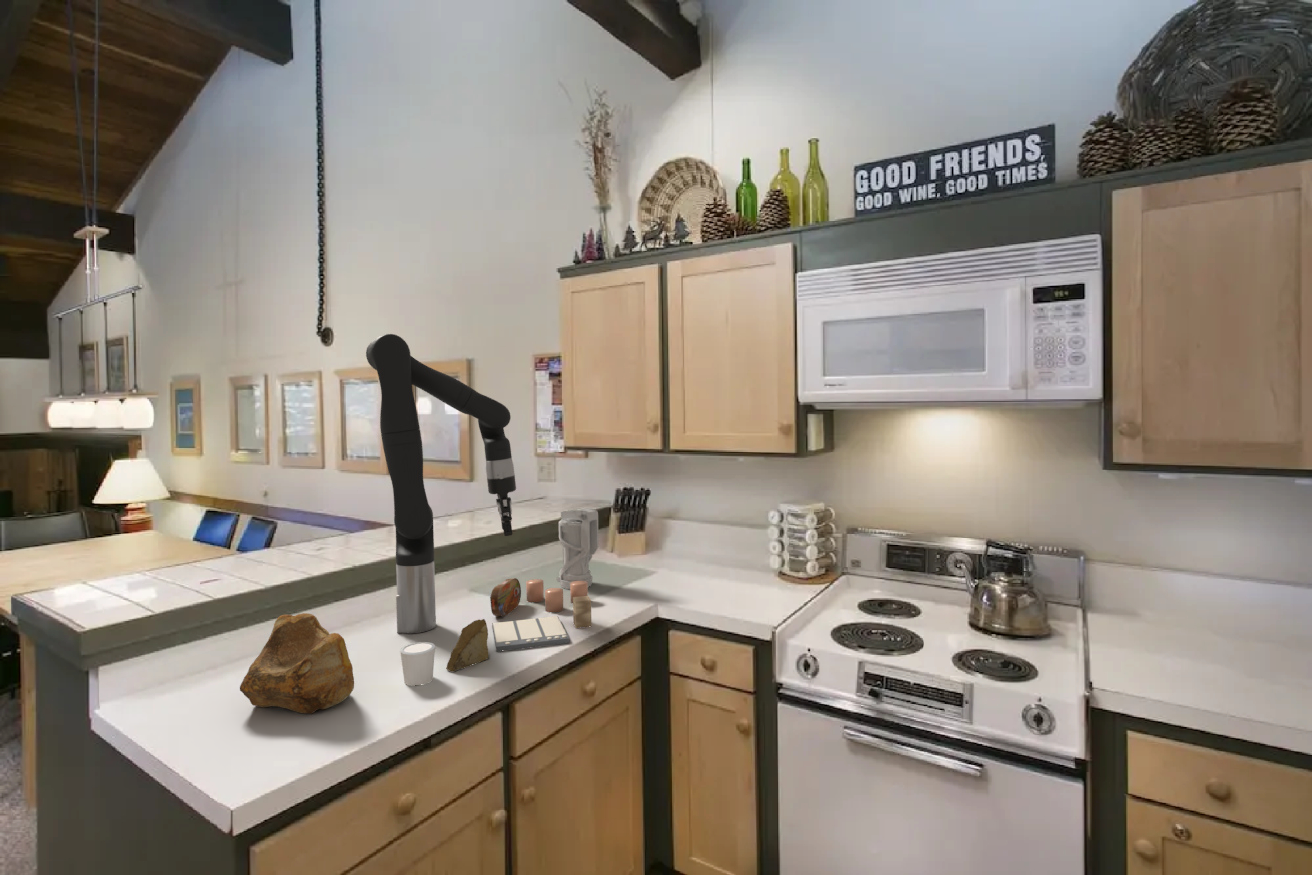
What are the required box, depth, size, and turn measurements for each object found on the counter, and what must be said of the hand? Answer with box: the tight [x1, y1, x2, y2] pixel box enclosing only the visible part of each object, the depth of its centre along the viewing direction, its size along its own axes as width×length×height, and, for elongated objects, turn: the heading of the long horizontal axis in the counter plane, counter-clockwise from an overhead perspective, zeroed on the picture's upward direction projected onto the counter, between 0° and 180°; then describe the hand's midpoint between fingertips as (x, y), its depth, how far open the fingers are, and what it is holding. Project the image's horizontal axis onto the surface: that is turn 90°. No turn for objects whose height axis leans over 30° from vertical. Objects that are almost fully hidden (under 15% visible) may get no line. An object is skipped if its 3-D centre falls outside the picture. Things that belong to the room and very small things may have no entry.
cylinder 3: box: [569, 581, 589, 604], centre depth 186 cm, size 5×5×6 cm
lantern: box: [556, 507, 600, 590], centre depth 202 cm, size 13×10×25 cm
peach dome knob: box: [544, 587, 564, 613], centre depth 179 cm, size 5×5×6 cm
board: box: [491, 615, 570, 652], centre depth 159 cm, size 17×17×1 cm
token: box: [572, 595, 592, 629], centre depth 166 cm, size 4×4×7 cm
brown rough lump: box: [239, 612, 355, 715], centre depth 124 cm, size 23×17×15 cm
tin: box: [490, 577, 522, 618], centre depth 178 cm, size 15×3×8 cm, turn 168°
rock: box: [445, 618, 489, 673], centre depth 142 cm, size 11×9×10 cm
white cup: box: [399, 641, 436, 687], centre depth 134 cm, size 7×7×7 cm
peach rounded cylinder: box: [525, 578, 545, 603], centre depth 188 cm, size 5×5×6 cm
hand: (507, 532), depth 179 cm, fingers open, 8 cm apart
